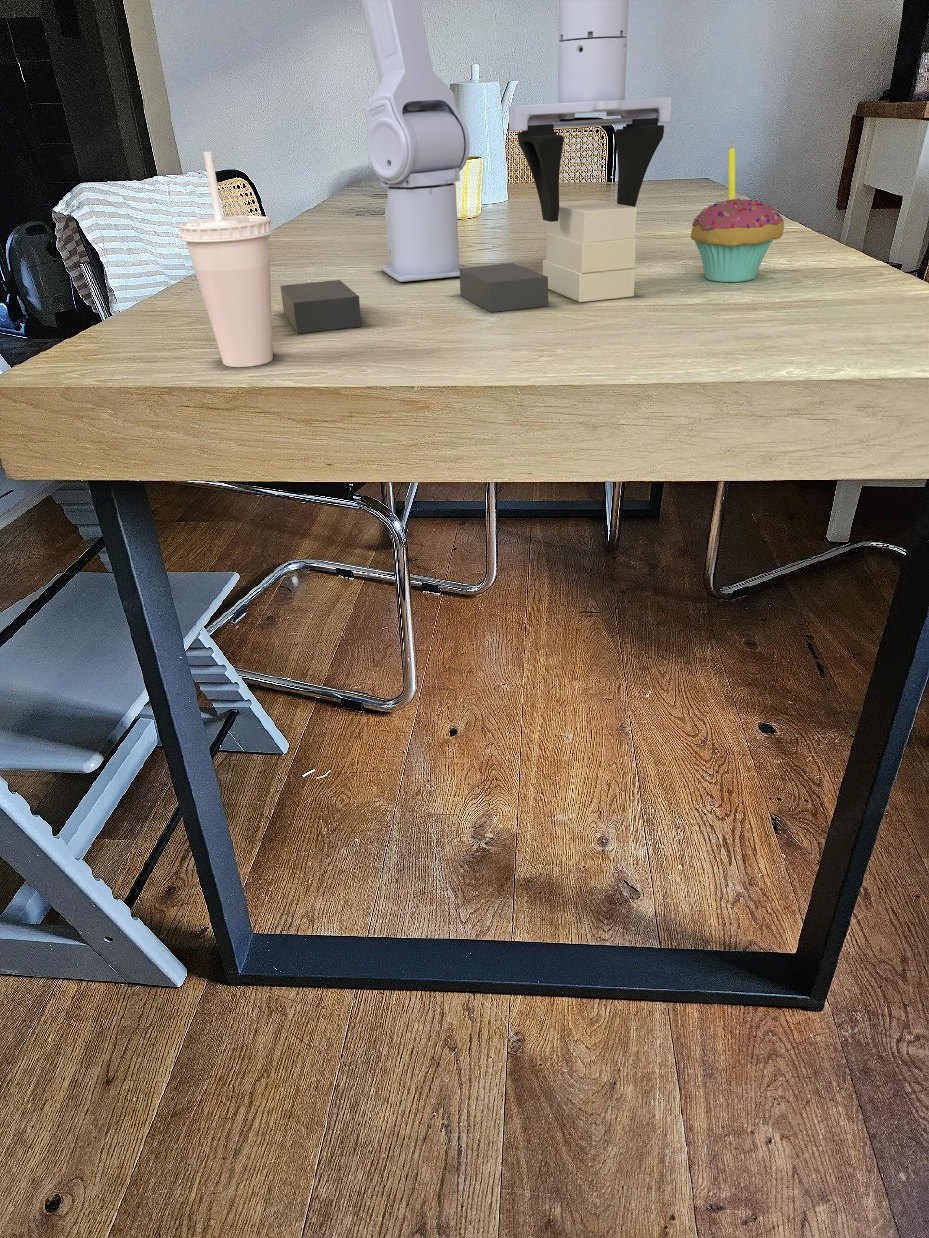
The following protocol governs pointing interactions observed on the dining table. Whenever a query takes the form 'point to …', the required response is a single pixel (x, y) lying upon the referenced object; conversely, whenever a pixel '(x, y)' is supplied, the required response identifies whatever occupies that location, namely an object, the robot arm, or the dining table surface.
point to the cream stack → (590, 268)
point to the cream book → (594, 221)
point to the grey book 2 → (503, 287)
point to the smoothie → (233, 278)
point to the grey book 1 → (321, 306)
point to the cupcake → (735, 233)
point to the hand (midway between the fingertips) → (588, 217)
